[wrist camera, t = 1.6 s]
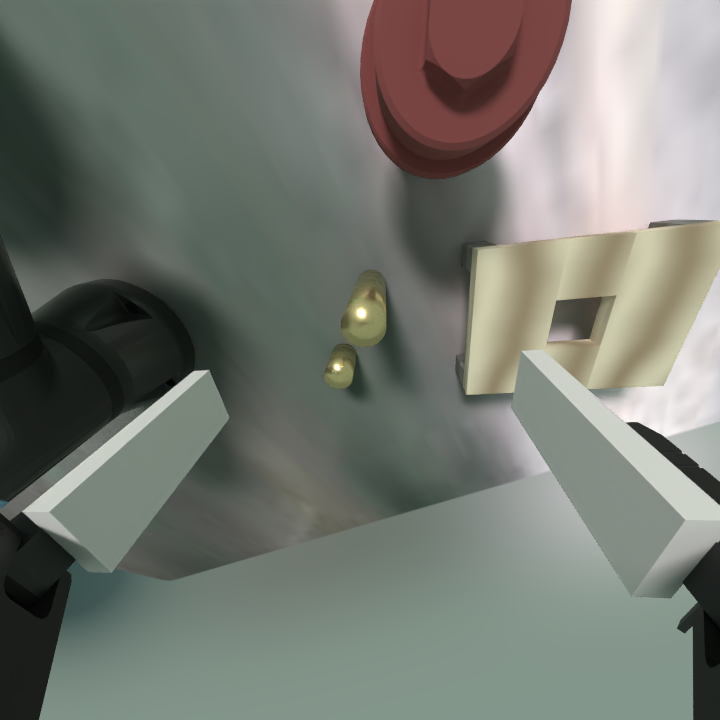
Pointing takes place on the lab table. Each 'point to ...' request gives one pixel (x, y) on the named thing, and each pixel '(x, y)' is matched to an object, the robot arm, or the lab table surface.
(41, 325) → the robot arm
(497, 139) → the mechanical component
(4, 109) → the lab table surface
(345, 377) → the short pin
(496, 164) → the lab table surface
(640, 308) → the stand
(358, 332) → the long pin
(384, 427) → the lab table surface
